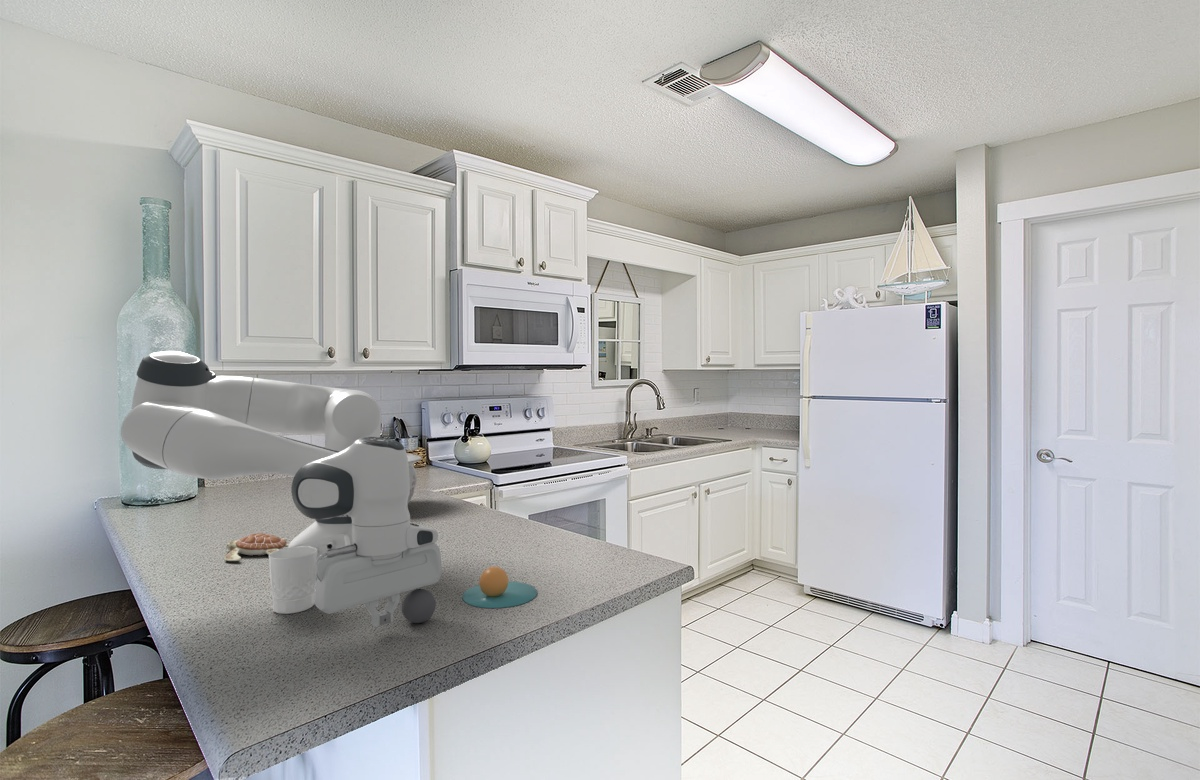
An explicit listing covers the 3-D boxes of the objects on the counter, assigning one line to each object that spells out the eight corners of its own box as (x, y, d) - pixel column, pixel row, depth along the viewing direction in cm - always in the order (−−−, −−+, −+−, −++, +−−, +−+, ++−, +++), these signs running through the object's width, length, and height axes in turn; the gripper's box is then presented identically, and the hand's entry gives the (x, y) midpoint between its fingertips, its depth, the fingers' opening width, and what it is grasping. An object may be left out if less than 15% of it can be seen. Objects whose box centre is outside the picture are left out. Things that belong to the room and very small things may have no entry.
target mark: (493, 614, 105) (493, 613, 105) (447, 595, 115) (447, 594, 115) (552, 593, 116) (552, 592, 116) (505, 577, 125) (505, 576, 125)
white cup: (281, 600, 113) (280, 546, 113) (324, 598, 113) (324, 545, 113) (261, 616, 105) (260, 559, 105) (308, 614, 106) (307, 557, 105)
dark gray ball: (426, 577, 103) (444, 596, 105) (398, 588, 103) (417, 607, 106) (420, 604, 98) (439, 623, 101) (392, 615, 99) (411, 634, 101)
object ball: (513, 578, 118) (499, 604, 115) (489, 565, 118) (474, 591, 116) (514, 571, 113) (498, 599, 110) (488, 558, 114) (472, 584, 111)
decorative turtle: (252, 543, 155) (252, 524, 155) (313, 545, 153) (313, 525, 153) (198, 565, 137) (198, 542, 137) (267, 567, 135) (266, 544, 135)
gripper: (325, 556, 87) (326, 651, 87) (446, 529, 102) (447, 611, 103) (306, 548, 91) (307, 639, 92) (425, 524, 107) (426, 602, 107)
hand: (382, 624), depth 97 cm, fingers closed
